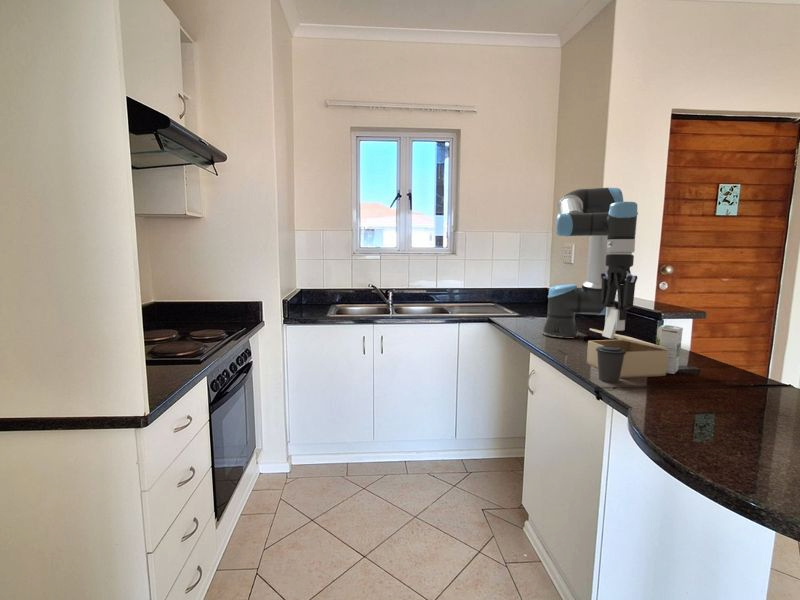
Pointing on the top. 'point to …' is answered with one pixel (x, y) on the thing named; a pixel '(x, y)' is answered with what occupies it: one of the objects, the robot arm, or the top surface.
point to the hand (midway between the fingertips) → (614, 328)
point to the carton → (633, 358)
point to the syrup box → (670, 345)
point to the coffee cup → (610, 363)
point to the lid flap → (610, 333)
